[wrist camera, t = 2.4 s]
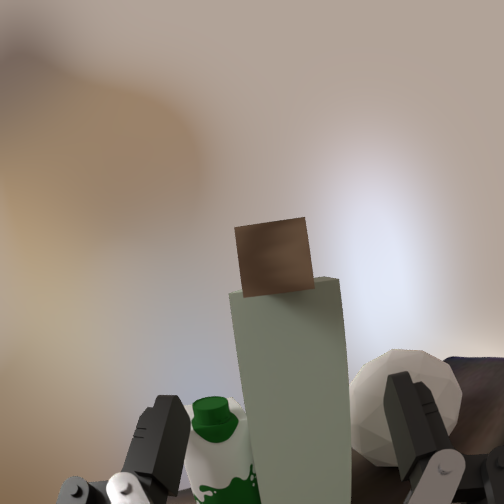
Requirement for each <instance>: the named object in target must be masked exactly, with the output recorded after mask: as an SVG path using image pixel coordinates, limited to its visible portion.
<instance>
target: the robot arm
mask: <svg viewBox="0 0 504 504" xmlns="http://www.w3.org/2000/svg"><path fill="white" fill-rule="evenodd" d="M383 405H384V412H385V416H386V420H387V423H388V427H389V431H390V435H391V439H392V443H393V447H394V451H395V455H396V459H397V463H398V468H399V472H400V477H401V481H402V482H403V481H407V480H410V483H411V489H410V491H409V493H408V495H407V497H406V498H405V500H404V502H403V504H451V503H457V502H461V504H504V445H503V446H498V447H496V448H495V449H493V450H492V451H491V452H490V453H489V454H480V455H465V454H462V453H460V452H458V451H457V450H456V449H455V448H454V447H453V446H452V444H451V441H450V439H449V436H448V433H447V430H446V428H445V425H444V422H443V420H442V417H441V415H440V412H439V409H438V407H437V404H436V403H435V400H434V397H433V395H432V392H431V390H430V389H429V388H428V387H427V386H426V385H425V384H424V383H423V382H422V381H420V382H416V383H413V381H412V379H411V376H410V374H409V372H408V371H403V372H399V373H395V374H390V375H388V377H387V382H386V388H385V393H384V398H383ZM190 431H191V420H190V417H189V415H188V413H187V411H186V409H185V408H184V406H183V404H182V402H181V400H180V399H179V397H178V396H177V395H158V396H157V398H156V400H155V404H154V406H153V408H151V407H148V408H147V409H146V410H145V411H144V412H143V413H142V415H141V416H140V417H139V420H138V423H137V426H136V430H135V432H134V435H133V436H134V438H132V441H131V444H130V447H129V451H128V453H127V456H126V460H125V463H124V466H123V468H122V471H121V472H120V473H117V474H115V475H113V476H112V477H111V478H110V479H109V480H107V481H99V482H87V481H85V480H84V479H83V478H81V477H78V476H73V477H70V478H68V479H67V480H65V481H64V483H63V484H62V487H61V490H60V493H59V496H58V499H57V502H56V504H167V503H166V501H167V496H175V497H177V494H178V489H179V484H180V479H181V474H182V469H183V464H184V459H185V455H186V450H187V445H188V440H189V435H190Z"/></svg>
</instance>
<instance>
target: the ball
mask: <svg viewBox="0 0 504 504" xmlns="http://www.w3.org/2000/svg"><path fill="white" fill-rule="evenodd" d="M403 371H408V372H409V374H410V376H411V379H412V381H413V383H416V382H420V381H422V382H423V383H424V384H425V385H426V386H427V387H428V388H429V389H430V390H431V392H432V395H433V397H434V400H435V403H436V404H437V407H438V409H439V412H440V415H441V417H442V420H443V422H444V425H445V428H446V430H447V433H448V436H449V435H450V434H451V432H452V431H453V429H454V427H455V426H456V424H457V420H458V415H459V410H460V405H461V399H462V391H461V389H460V387H459V385H458V382H457V380H456V378H455V376H454V374H453V372H452V370H451V368H450V366H449V364H447V363H445V362H443V361H441V360H439V359H437V358H436V357H434V356H432V355H430V354H428V353H426V352H424V351H418V350H400V349H392V350H390V351H388V352H387V353H385V354H383V355H381V356H379V357H378V358H376V359H374V360H372V361H370V362H368V363H367V364H365V365H363V367H362V368H361V370H360V371H359V372H358V374H357V375H356V377H355V378H354V380H353V381H352V382H351V384H350V385H349V396H350V419H351V446H352V448H353V449H355V450H356V451H357V452H358V453H360V454H361V455H362V456H363V457H365V458H366V459H367V460H369V461H370V462H371V463H372V464H374V465H375V466H398V463H397V459H396V455H395V451H394V447H393V443H392V439H391V435H390V431H389V427H388V423H387V420H386V416H385V412H384V405H383V398H384V393H385V388H386V382H387V377H388V375H390V374H395V373H399V372H403Z"/></svg>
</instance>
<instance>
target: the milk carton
mask: <svg viewBox="0 0 504 504" xmlns="http://www.w3.org/2000/svg"><path fill="white" fill-rule="evenodd" d="M184 408H185V409H186V411H187V413H188V415H189V417H190V420H191V431H190V435H189V440H188V445H187V450H186V455H185V459H184V464H185V468H186V471H187V475H188V478H189V482H190V485H191V488H192V492H193V495H194V498H195V500H196V503H197V504H261V499H260V493H259V488H258V482H257V476H256V471H255V465H254V459H253V453H252V447H251V441H250V435H249V429H248V423H247V416H246V413H245V412H244V410H243V409H242V408H241V406H240V404H239V403H237V402H236V401H235V400H234V399H233V397H230V398H224V397H218V396H213V397H205V398H202V399H199V400H196V401H195V402H194V403H193V404H192V405H185V406H184Z"/></svg>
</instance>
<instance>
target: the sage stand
mask: <svg viewBox="0 0 504 504" xmlns="http://www.w3.org/2000/svg"><path fill="white" fill-rule="evenodd" d="M314 285H315V289H309V290H302V291H295V292H287V293H280V294H272V295H264V296H256V297H247V298H243V292H242V289H241V290H238V291H235V292H232V293H229V299H230V306H231V314H232V322H233V329H234V335H235V343H236V350H237V357H238V364H239V371H240V377H241V384H242V391H243V397H244V404H245V410H246V416H247V423H248V429H249V435H250V441H251V447H252V453H253V459H254V465H255V471H256V476H257V482H258V488H259V493H260V499H261V504H351V419H350V396H349V379H348V365H347V351H346V341H345V329H344V319H343V309H342V302H341V301H342V300H341V292H340V284H339V279H336V278H330V277H318V278H314Z"/></svg>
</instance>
